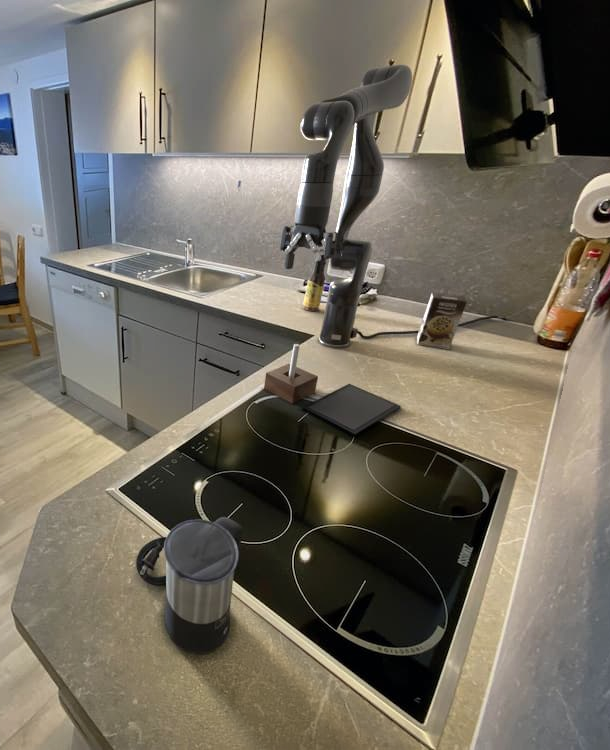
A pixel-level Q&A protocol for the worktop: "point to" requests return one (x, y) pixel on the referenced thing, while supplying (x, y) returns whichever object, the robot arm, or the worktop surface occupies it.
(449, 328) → the brown upright rectangular box
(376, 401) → the tablet
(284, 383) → the stand
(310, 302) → the sauce bottle
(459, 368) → the worktop surface
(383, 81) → the robot arm
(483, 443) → the worktop surface
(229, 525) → the milk frother
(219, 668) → the worktop surface
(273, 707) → the worktop surface
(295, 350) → the stylus
